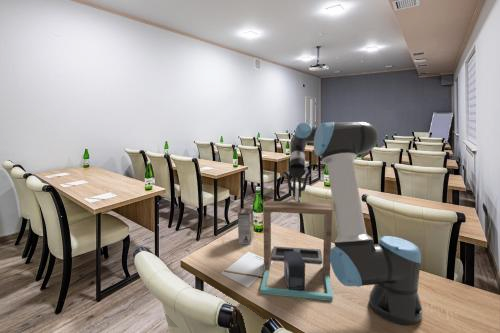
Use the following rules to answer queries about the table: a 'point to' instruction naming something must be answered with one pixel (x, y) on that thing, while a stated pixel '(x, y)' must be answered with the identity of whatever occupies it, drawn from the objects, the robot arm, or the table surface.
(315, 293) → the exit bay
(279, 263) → the table surface
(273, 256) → the pit plate
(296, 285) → the small box
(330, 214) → the tunnel
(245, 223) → the coffee box
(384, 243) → the robot arm
